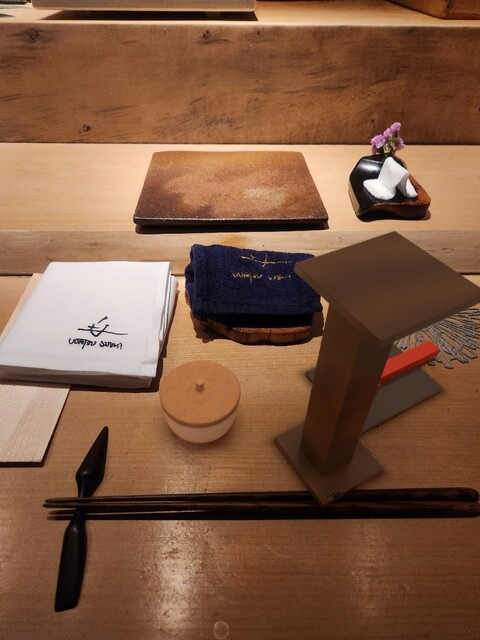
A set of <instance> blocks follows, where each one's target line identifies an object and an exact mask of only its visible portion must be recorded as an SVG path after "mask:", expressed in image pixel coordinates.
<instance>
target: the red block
mask: <svg viewBox="0 0 480 640" xmlns="http://www.w3.org/2000/svg"><path fill="white" fill-rule="evenodd" d="M440 351H441V348H440V347H439V346H437V344H435V343H434V342H433V341H432V340H430V339H429V340H427V341H425V342H422V343H420V344H418V345H416V346H414V347H411V348H409V349H408V350H405V351H402V352H403V353H401V354H399V355H397V356H394V357H392V358H390V359H388V360H387V363H386V365H385V368H384V371H383V374H382V377H381V379H380V382H379V385H378V388H377V391H376V392H378V390H379V387H380V384H381V383H383V382H385V381H387V380H389V379H391V378H393V377H395V376H397V375H399V374H401V373H403V372H405V371H407V370H409V369H411V368H413V367H415V366H417V365H418V366H420V365H423V363H426V362H427V361H430V360H432V359H434V358H436V357H438V356H439V353H440Z"/></svg>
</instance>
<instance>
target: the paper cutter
mask: <svg viewBox="0 0 480 640" xmlns="http://www.w3.org/2000/svg"><path fill="white" fill-rule="evenodd" d="M403 352H404V351H402V349H401V348H399V347H398V346H397V345H396V344H395V343H393V346H392V349H391V351H390V354H389V357H388V359H390V358H392V357H394V356H397V355H399V354H401V353H403ZM315 369H316V366H315V367H313V368H311V369H307V370H306V371H305V372H304V376H305V377H306V378H307V379H308V380H309V381H310V382H311V384H313V379H314V374H315ZM443 390H444V387H443V386H442V385H441V384H440V383H439V382H437V380H435V379H434V377H432V376H431V375H429V373H428V372H426V371H425V370H424V369H423V368H422V367H421V366H420V365H417V366H415V367H413V368H411V369H409V370H407V371H405V372H403V373H401V374H399V375H397V376H395V377H393V378H391V379H389V380H387V381H385V382H383V383H381V384H380V387H379V390H378V392H376V393H375V396H374V399H373V402H372V405H371V407H370V410H369V413H368V416H367V419H366V421H365V424H364V427H363V430H362V433H361V435H363V434H365V433H366V432H368V431H371V430H372V429H374V428H376V427H377V426H379V425H381V424H383V423H385V422H387V421H389V420H391V419H393V418H395V417H397V416H398V415H400V414H401V413H404V412H405V411H407V410H409V409H411V408H413V407H415V406H417V405H418V404H420V403H422V402H424V401H426V400H428V399H430V398H431V397H434V396H435V395H438V394H439V393H440V392H442V391H443Z"/></svg>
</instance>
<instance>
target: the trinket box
mask: <svg viewBox="0 0 480 640" xmlns="http://www.w3.org/2000/svg"><path fill="white" fill-rule="evenodd" d="M158 395H159V396H158V397H159V402H160V406H161V411H162V413H163V418H164V420H165V421H166V423H167V425H168V427H169V428H170V429H171V431H172V432H173V433H174V434H175V435H176V436H178V437H179V438H180V439H182V440H185V441H186V442H190V443H194V444H206V443H210V442H214V441H216V440H218V439H220V438H221V437H223V436H224V435H226V434H227V432H228V431H229V430H230V429H231V428H232V426H233V425H234V423H235V420H236V418H237V415H238V413H239V408H240V407H239V406H240V400H241V385H240V382H239V380H238V378H237V376H236V375H235V373H234V372H233V371H232V370H231V369H229V368H228V367H227V366H226V365H223V364H221V363H218V362H216V361H212V360H201V359H199V360H198V359H197V360H191V361H187V362H184V363H182V364H179V365H178V366H176V367H174V368H173V369H172V370H170V371H169V372H168V373H167V374H166V375H165V377H164V378H163V379H162V381H161V384H160V386H159V393H158Z"/></svg>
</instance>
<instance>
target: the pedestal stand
mask: <svg viewBox="0 0 480 640" xmlns="http://www.w3.org/2000/svg"><path fill="white" fill-rule="evenodd" d="M293 270H294V271H293V272H294V273H295V274H296V275H297V276H298V277H300V278H301V280H303V281H304V282H305V283H306V284H307V285H308V286H309V287H310V288H311V289H312V290H313V291H315V292H316V293H317V294H318V295H319V296H320V297H321V298H322V299H323V300H324V301H326V303H328V307H327V312H326V316H325V322H324V327H323V330H322V336H321V341H320V344H319V351H318V356H317V359H316V365H315V367H316V369H315V374H314V379H313V383H311V388H310V393H309V399H308V403H307V409H306V413H305V418H304V422H302V423H300V424H298V425H296V426H294V427H292V428H290V429H288V430H286V431H284V432H282V433H280V434H278V435H276V436H274V440H273V443H275V445H276V447H277V448H278V449H279V450H280V451H279V452H281V454H282V455H283V457H284V459H286V460H287V462H288V463H289V465H290V466H291V467H292V470H294V472H295V473H296V475H297V476H298V477H299V479H300V480H301V482H302V483H303V484H304V486H305V487H306V489H307V490H308V491H309V493H310V494H311V496H312V497H313V498H314V499H315V502H316V503H317V504H318V505H319V507H320V508H321V509H322V510H323V509H325V508H326V507H328V506H330V505H331V504H333V503H335V502H336V501H338V500H340V499H341V498H343V497H345V496H346V495H348V494H350V493H352V492H353V491H354V490H356V489H358V488H360V487H362V486H363V485H365V484H367V483H368V482H370V481H372V480H373V479H375V478H377V477H379V476H380V475H382V474H383V472H384V470H385V468H384V467H383V465H382V464H381V463H380V462H379V461H378V460H377V459H376V458H375V457H374V455H373V454H372V452H370V451H369V449H368V448H367V447H366V446H365V445H364V443H362V441H361V440H360V438H361V435H362V434H361V433H362V430H363V427H364V424H365V421H366V419H367V416H368V413H369V410H370V407H371V405H372V402H373V399H374V396H375V393H376V391H377V388H378V385H379V382H380V379H381V377H382V374H383V371H384V368H385V365H386V363H387V360H388V357H389V354H390V351H391V349H392V346H393V344H395V342H397V341H399V340H402V339H404V338H406V337H408V336H411V335H413V334H415V333H418V332H420V331H422V330H425V329H427V328H429V327H430V326H433V325H435V324H437V323H439V322H442V321H444V320H446V319H448V318H450V317H453V316H454V315H457V314H459V313H461V312H464V311H466V310H467V309H470V308H472V307H475V306H477V305H479V304H480V286H479V285H478V284H476V283H474V282H473V281H472V280H470V279H468V278H466V277H465V276H463V275H462V274H461V273H459V272H458V271H456V270H455V269H453V268H451V267H450V266H449V265H447V264H446V263H444V262H443V261H441V260H439V259H438V258H437V257H435V256H434V255H432V254H431V253H429V252H428V251H427V250H425V249H423V248H421V247H420V246H418V245H417V244H416V243H414V242H412V241H411V240H409V239H408V238H407V237H405V236H403V235H402V234H401V233H399V232H398V231H396V230H393V231H389V232H387V233H384V234H381V235H378V236H373V237H371V238H368V239H366V240H362V241H360V242H356V243H353V244H350V245H347V246H343V247H341V248H338V249H335V250H332V251H329V252H325V253H322V254H320V255H317V256H313V257H310V258H307V259H305V260H301V261H299V262H296V263H295V264H294V269H293ZM346 491H347V492H346ZM314 492H315V493H314ZM333 492H334V493H335V494H336V493H337V492H339V493H340V492H341V494H342V493H343V492H345V493H343V494H342V495H340V496H338V497H337V498H336V497H335V499H334V497H333V495H332V497H331V496H329V495H330V494H332V493H333ZM315 494H316V495H315ZM327 494H329V495H327ZM326 495H327V496H328V497H327V496H326ZM318 498H319V499H318Z"/></svg>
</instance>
